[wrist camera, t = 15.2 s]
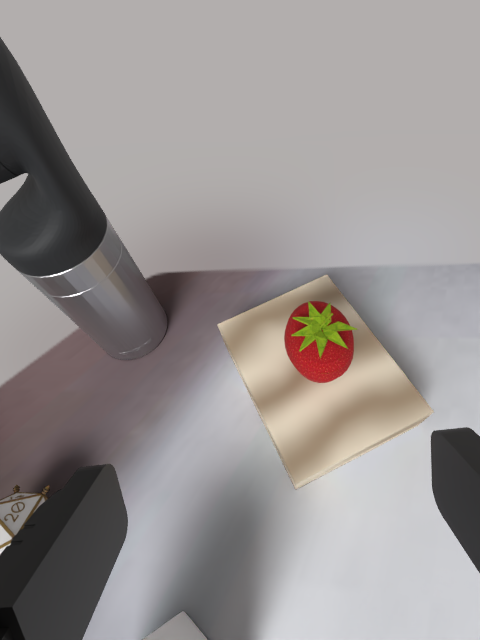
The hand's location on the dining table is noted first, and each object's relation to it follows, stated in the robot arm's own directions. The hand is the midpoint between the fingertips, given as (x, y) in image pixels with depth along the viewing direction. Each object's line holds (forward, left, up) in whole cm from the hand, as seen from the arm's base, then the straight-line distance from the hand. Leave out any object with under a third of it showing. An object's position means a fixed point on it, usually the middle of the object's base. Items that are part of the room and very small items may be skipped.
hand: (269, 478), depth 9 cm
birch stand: (-11, +9, -29) cm, 32 cm away
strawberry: (-10, +9, -24) cm, 27 cm away
